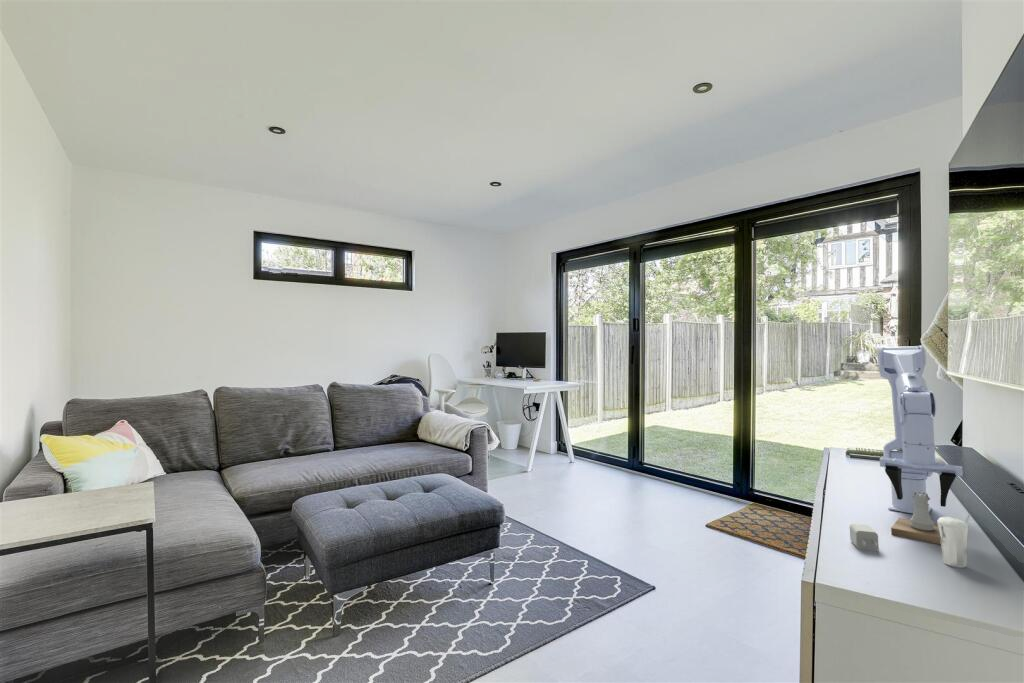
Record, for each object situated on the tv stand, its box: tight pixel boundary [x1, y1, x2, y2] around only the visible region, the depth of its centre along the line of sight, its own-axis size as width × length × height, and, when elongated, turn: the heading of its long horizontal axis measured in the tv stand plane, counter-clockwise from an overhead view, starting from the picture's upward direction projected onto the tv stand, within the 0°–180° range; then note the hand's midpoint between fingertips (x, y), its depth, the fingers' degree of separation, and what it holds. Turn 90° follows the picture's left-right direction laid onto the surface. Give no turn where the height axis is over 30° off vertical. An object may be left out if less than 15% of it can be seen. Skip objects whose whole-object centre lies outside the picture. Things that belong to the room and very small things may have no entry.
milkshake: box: [936, 513, 971, 569], centre depth 94 cm, size 4×5×10 cm
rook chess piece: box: [909, 492, 935, 531], centre depth 110 cm, size 4×4×8 cm
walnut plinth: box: [890, 517, 941, 545], centre depth 110 cm, size 10×10×2 cm
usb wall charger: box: [849, 523, 880, 552], centre depth 103 cm, size 4×7×4 cm, turn 159°
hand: (921, 502), depth 110 cm, fingers open, 7 cm apart
